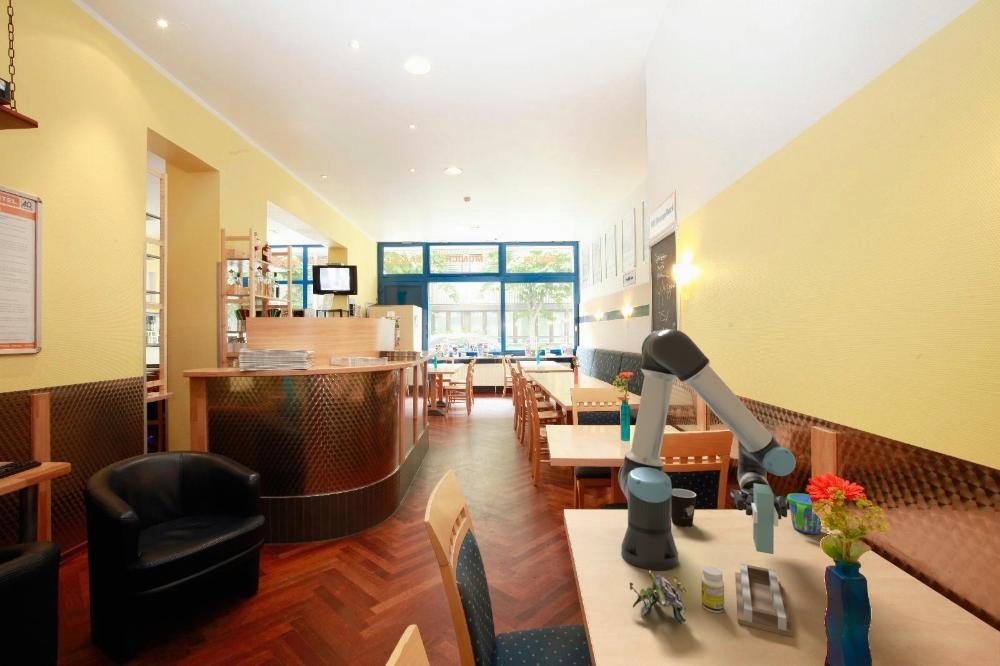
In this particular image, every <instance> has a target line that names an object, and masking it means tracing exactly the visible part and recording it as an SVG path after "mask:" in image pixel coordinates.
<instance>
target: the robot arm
mask: <svg viewBox="0 0 1000 666" xmlns="http://www.w3.org/2000/svg"><path fill="white" fill-rule="evenodd" d="M641 354H642V360H641V365H640V371H641V372H642V373H643V375H644V378H643V383H642V388H641V394H640V397H639V405H638V410H637V411H638V412H637V415H636V420H635V421H636V422H635V427H634V432H633V437H632V444H631V448H630V450H629V451H627V452H626V453H625V454H624V458H623V463H622V465H621V466H620V468H619V471H618V476H617V477H618V479H617V481H618V485H619V488H620V490H621V491H622V493H623V495H624V497H625V498H626V500H627V527H626V531H625V534H624V537H623V539H622V542H621V548H620V549H621V552H620V553H621V556H622V558H623V559H624V560H625V561H626V562H628V563H629V564H630V565H633V566H636V567H638V568H641V569H645V570H650V571H651V570H653V571H665V570H670V569H673V568H675V567H676V566H677V565H678V564H679V551H678V549H677V545H676V542H675V539H674V536H673V534H672V533H673V532H672V517H671V504H672V489H673V488H672V487H673V486H672V480H671V477H670V476H669V475H668V474H667V473H666V472H664V470H663V469H664V462H663V461H662V459H661V450H662V447H663V439H664V435H665V430H666V429H665V428H666V424H667V419H668V411H669V407H670V401H671V396H672V389H673V384H674V381H676V380H677V379H679V381H680V382H681V383H686V384H688V386H689V387H690V388H691V389H692V390H693V391H694V392H695V393H696V395H697V396H698V397H699V398H700V399H701V400H702V401H703V403H704V404H706V406H707V407H708V408H709V409H710V410H711V412H713V413H714V415H715V416H716V417H717V418H718V419H719V420H720V421H721V422H722V424H724V426H725V427H726V428H727V429H728V430H729V431H730V433H732V435H733V436H734V437H735V438H736V439H737V441H738V443H737V445H738V446H737V449H738V453H737V455H738V463H737V472H736V479H737V482H738V485H739V488H740V490H737V489H735V488H731V489H730V499H731V500H733V501H734V504H735V506H736V509H737V510H738V511H744V510H745V515H746V516H749V517H750V516H751V517H752V520H753V522H754V523H757V519H758V512H757V509H756V506H755V503H753V498H754V483H755V484H763V485H769V486H770V484H769V482H768V480H767V477H768V475H767V472H768V473H769V474H772V475H775V476H777V477H778V476H779V477H784V476H788V475H790V474H791V473H792V472H793V471H794V470H795V468H796V464H797V461H796V458H795V456H794V454H793V452H791V450H789V449H787V448H786V447H784V446H782V445H781V444H780V443H779V442H778V441H777V440H776V439H775V438H774V436H772V435H771V433H770V432H769V431H768V430H767V428H766V427H765V426H764V425H763V424H762V423H761V422H760V421H759V420H758V419H757V418H756V416H755V414H754V413H752V411H750V410H749V409H748V407H747V406H746V405H745V404H744V403H743V402H742V401H741V400H740V398H739V397H738V396H737V395H736V394H735V393H734V392H733V390H731V388H729V386H728V385H727V384H726V383H725V382H724V381H723V380H722V378H721V377H720V376H719V375H718V374H717V372H716V371H715V370H713V369H714V368H712V367H711V366H710V363H711V362H710V359H709V358H708V357H707V355H705V354H704V353H703V351H702V350H701V349H700V348H699V347H698V345H697V344H696V343H695V342H694V340H693V339H692V338H690V336H689V335H687V333H684V332H683V331H681V330H680V329H679V330H678V329H674V328H673V329H672V328H671V329H669V328H668V329H658V330H655V331H653V332H651V333H649V334H648V335H647V336H646V337H645V338H644V339H643V342H642V344H641ZM773 494H774V527H779V520H780V521H781V520H782V517H783V518H788V501H787V496H786V495H778V496H777V495H776V494H775V493H773ZM753 522H752V523H753Z"/></svg>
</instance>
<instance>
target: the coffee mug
mask: <svg viewBox="0 0 1000 666" xmlns="http://www.w3.org/2000/svg"><path fill="white" fill-rule="evenodd" d="M696 500H697V493H695V492H694V491H692V490H689V489H683V488H672V504H671V524H673V525H675V526H677V527H682V528H690V527H693V524H694V516H695V509H696V508H695V507H696V502H697V501H696Z"/></svg>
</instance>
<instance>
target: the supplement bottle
mask: <svg viewBox="0 0 1000 666" xmlns="http://www.w3.org/2000/svg"><path fill="white" fill-rule="evenodd" d="M723 576H724V575H723V570H722V569H720V568H718V567H715V566H712V565H707V566H703V568H702V576H701V605H702V607H703V608H704V610H706V611H708V612H711V613H716V614H719V613H720V614H721V613H723V612H724V611H725V581H724V579H723Z"/></svg>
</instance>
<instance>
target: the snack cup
mask: <svg viewBox="0 0 1000 666" xmlns="http://www.w3.org/2000/svg"><path fill="white" fill-rule="evenodd" d="M809 495H810V494H807V493H801V492H800V493H796V492H795V493H789V494H787V496H786V497H787V503H788V505H789V512H790V518H791V519H790V520H791V525H792V527H793V529H794V530H797V531H798V532H800V533H803V534H808V535H818V534H820V533H821V531H822V529H823V528H822V527H823V525H822V526H821V521H820V518H819V517H818V516H817V515H816V514H814V513H812V501H811V499H810V496H809Z"/></svg>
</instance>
